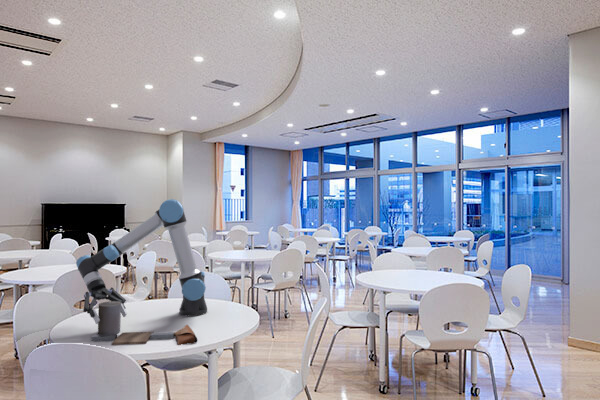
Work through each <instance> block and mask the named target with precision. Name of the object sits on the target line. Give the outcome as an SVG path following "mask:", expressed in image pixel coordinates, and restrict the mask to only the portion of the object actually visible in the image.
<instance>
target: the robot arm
mask: <svg viewBox="0 0 600 400" xmlns="http://www.w3.org/2000/svg"><path fill="white" fill-rule="evenodd" d="M186 218H187V217H186V214H185V210H184V206H183V205H182V203H181V201H179V200H176V199H173V198H171V199H166V200H164V201H163V202H162V203H161V204H160V206H159V209H158V210H156V211H155V212H154V215H151V216H150V217H149V218H148V219H146V220H145V221H143V222H142V223H140V224H139V225H137V226H136V227H134V229H131V231H129V232H128V233H126V234H125V235H123V236H122V237H120V238H118V239H117V240H116V241H114V242H113V243H111V244H109V245H107V246H106V247H104V248H103V249H101V250H99V251H98V252H95V254H93V255H90V254H89V255H88V254H86V255H83V256H80V257H79V258H78V259H76V262H75V264H76V267H77V271H79V274H80V276H81V278H82V280H83V282H84V283H85V287H86V288H87V291H86V292H85V293H84V294H83V297H84V303H83V310H82V312H83V313H86V314H89V316H90V317H91V318H92V319H93V321H94V322H95V325H98V323H99V321H100V319H99V317H98V313H97V311H96V309H95V308H94V306H95V304H96V302H97V301H101V300H107V301H117V302H121V315H122V316H121V317H122V318H126V316H127V315H128V313H127V310H126V306H125V303H126V301H127V300H126V298H124V297H123V296H122V294H121V295H120V293H118V291H116V290H115V289H114V287H112V286H111V287H110V288H107V287H106V283H105V282H104V280H103V277H102V276H101V273H100V272H99V270H101V269H102V268H104V267H105V266H106V265H108V264H110V263H111V262H113V261H115V260H117V259H118V258H119V257H120V256H122V255H123V254H124V253H126V252H127V251H129V250H130V249H132V248H133V247H135V246H137V244H139V243H141V242H142V241H143V240H144V239H146V238H148V237H149V236H151V235H152V234H153V233H154V232H156V231H157V230H160V228H162V227H164V229H166V230H167V231H168V235H169V238H170V241H171V245H172V247H173V251H174V255H175V259H176V261H177V265H178V268H179V273H180V274H179V277H178V279H179V283H180V287H181V293H182V301H181V304H180V307H179V315H182V316H185V315H187V317H189V316H188V315H196V316H200V315H199V314H202V315H204V314H203V313H205V312H207V313H208V307H207V302H206V300H205V292H206V284H205V275H206V274H205V272H204V271H202V270H200V269H198V267H197V263H196V260H195V257H194V254H193V251H192V246H191V243H190V239H189V236H188V232H187V229H186V224H187V222H188V221H187V219H186ZM90 297H92V301H91V303H90V305H89V302H90ZM205 314H206V313H205Z"/></svg>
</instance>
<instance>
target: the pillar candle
mask: <svg viewBox="0 0 600 400" xmlns="http://www.w3.org/2000/svg"><path fill="white" fill-rule="evenodd" d="M97 312H98V313H97V315H98V317H99V319H100V321H99V323H98V324H97V335H105V334H117V335H118V334H119V333H121V319H122V318H121V317H122V316H121V315H122V314H121V302H117V301H110V300H108V301H105V302H104V301H103V302H101V303H98V311H97Z"/></svg>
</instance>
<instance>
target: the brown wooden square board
mask: <svg viewBox="0 0 600 400" xmlns="http://www.w3.org/2000/svg"><path fill="white" fill-rule="evenodd" d="M151 333H155V332H154V331H132V332H131V331H130V332H128V331H127V332H120V334H119V335H117V338H116V339H115V340H114V341H111V346H114V345H115V346H120V345H145V344H147V343H148V341H149V340H150V335H151Z"/></svg>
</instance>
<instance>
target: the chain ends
mask: <svg viewBox="0 0 600 400" xmlns="http://www.w3.org/2000/svg"><path fill="white" fill-rule="evenodd" d="M175 332H176V331H175ZM175 332H174V331H173V332H171V331H170V332H154V333H151V335H150V339H149V340H171V339H172V340H174V339H175ZM117 337H118V334H105V335H98V334H93V335H92V336H91V337H90V341H94V342H113V341H114V340H115V339H116V338H117Z"/></svg>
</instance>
